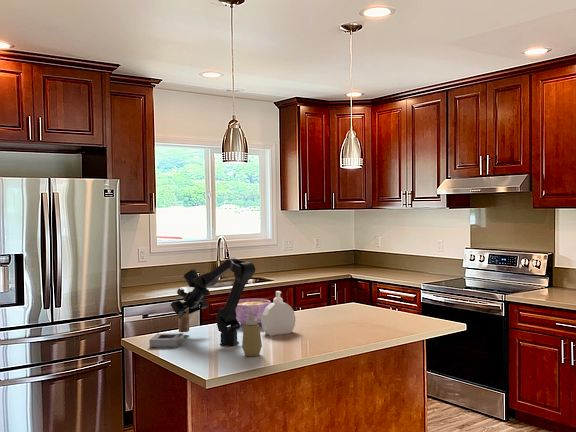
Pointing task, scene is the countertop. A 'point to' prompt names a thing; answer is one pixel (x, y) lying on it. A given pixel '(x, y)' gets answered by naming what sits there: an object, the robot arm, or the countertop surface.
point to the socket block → (166, 340)
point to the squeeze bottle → (251, 337)
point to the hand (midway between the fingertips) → (181, 316)
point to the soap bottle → (278, 317)
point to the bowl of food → (251, 309)
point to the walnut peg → (184, 321)
